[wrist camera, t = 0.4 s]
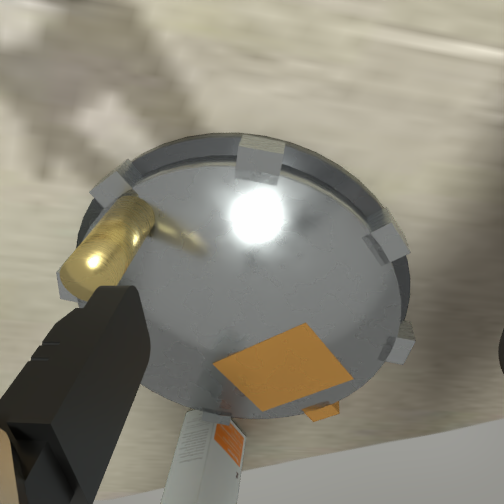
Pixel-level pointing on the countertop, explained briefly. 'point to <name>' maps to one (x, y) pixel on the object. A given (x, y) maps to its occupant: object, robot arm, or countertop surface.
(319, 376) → the sprocket
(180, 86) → the countertop surface
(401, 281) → the plate
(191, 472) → the skincare box
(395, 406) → the countertop surface
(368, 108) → the countertop surface
